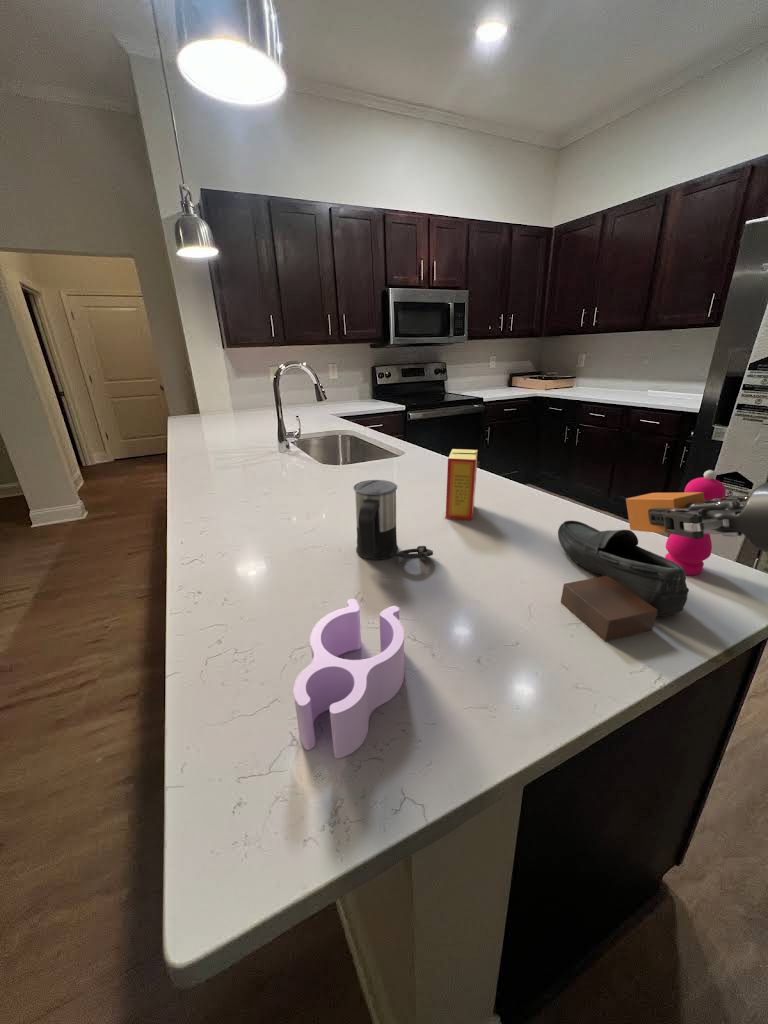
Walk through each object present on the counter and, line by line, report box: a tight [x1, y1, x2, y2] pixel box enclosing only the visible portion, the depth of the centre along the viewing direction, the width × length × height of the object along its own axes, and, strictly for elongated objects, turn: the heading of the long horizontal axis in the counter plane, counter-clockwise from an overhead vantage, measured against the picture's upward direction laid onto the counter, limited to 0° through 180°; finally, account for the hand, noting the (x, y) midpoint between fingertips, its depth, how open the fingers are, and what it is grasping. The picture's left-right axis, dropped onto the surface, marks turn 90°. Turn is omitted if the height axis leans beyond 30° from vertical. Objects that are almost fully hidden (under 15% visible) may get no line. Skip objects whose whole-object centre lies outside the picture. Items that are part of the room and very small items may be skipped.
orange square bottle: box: [625, 491, 706, 535], centre depth 56 cm, size 9×5×5 cm, turn 13°
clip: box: [292, 598, 405, 759], centre depth 55 cm, size 20×12×7 cm, turn 163°
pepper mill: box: [664, 469, 727, 576], centre depth 79 cm, size 7×7×20 cm
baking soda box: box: [445, 448, 479, 521], centre depth 107 cm, size 10×6×16 cm
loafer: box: [557, 520, 690, 617], centre depth 78 cm, size 10×29×10 cm, turn 18°
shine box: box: [560, 575, 658, 642], centre depth 68 cm, size 10×9×4 cm
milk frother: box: [353, 479, 434, 560], centre depth 87 cm, size 14×16×15 cm
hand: (667, 512), depth 56 cm, fingers closed on orange square bottle, 4 cm apart
